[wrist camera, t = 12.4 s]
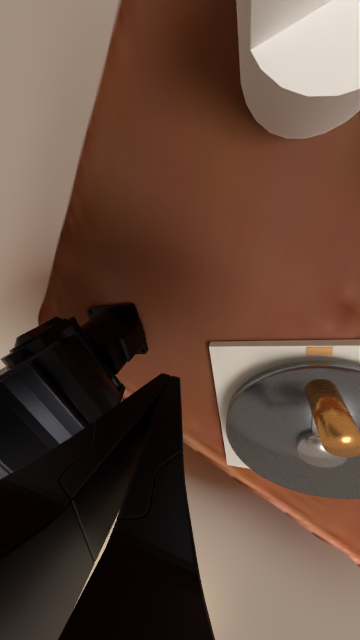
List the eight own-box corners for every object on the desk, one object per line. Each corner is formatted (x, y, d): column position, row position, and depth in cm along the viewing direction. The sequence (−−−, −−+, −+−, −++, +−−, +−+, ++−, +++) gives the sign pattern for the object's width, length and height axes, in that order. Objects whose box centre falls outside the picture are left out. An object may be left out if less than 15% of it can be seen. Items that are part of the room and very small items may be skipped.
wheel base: (228, 457, 31) (227, 468, 30) (210, 341, 23) (208, 349, 22) (403, 486, 24) (412, 502, 23) (466, 337, 16) (484, 348, 15)
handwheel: (410, 497, 22) (464, 591, 17) (236, 469, 29) (234, 531, 23) (458, 357, 15) (577, 439, 10) (215, 362, 22) (204, 414, 16)
